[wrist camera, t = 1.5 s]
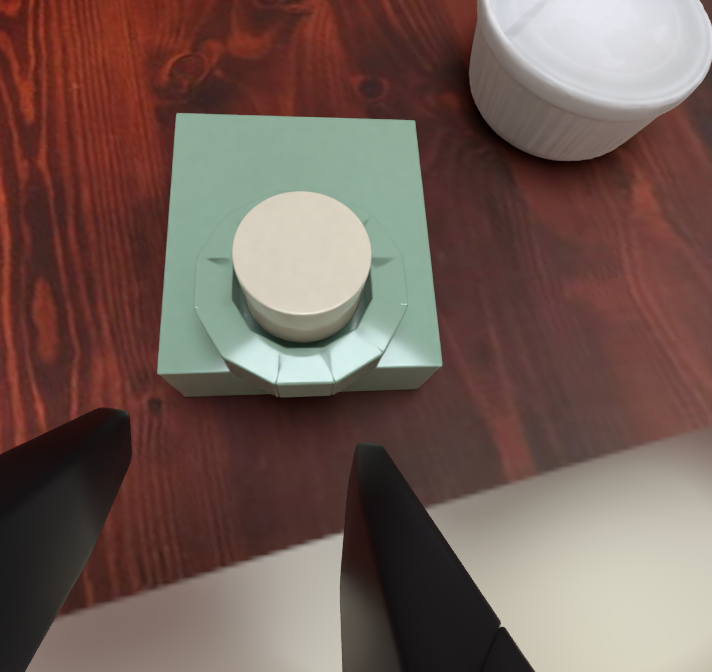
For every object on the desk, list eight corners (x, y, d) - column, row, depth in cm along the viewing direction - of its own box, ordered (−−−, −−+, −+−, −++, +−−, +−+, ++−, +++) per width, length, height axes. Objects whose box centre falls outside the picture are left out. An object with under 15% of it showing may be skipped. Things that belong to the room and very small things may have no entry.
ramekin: (455, 7, 29) (486, -94, 24) (634, 40, 30) (701, -52, 25) (445, 162, 25) (479, 80, 20) (649, 196, 26) (731, 125, 21)
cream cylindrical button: (365, 342, 16) (376, 314, 14) (241, 344, 16) (229, 316, 13) (358, 233, 17) (367, 191, 15) (243, 233, 17) (232, 189, 14)
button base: (420, 410, 21) (463, 379, 15) (182, 420, 20) (134, 389, 14) (398, 176, 25) (426, 82, 19) (196, 173, 24) (162, 72, 18)
